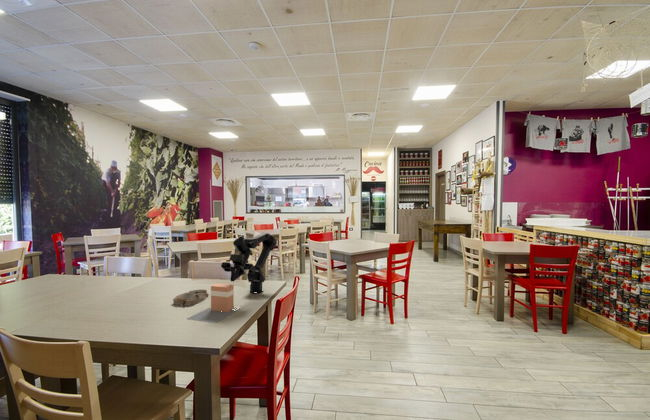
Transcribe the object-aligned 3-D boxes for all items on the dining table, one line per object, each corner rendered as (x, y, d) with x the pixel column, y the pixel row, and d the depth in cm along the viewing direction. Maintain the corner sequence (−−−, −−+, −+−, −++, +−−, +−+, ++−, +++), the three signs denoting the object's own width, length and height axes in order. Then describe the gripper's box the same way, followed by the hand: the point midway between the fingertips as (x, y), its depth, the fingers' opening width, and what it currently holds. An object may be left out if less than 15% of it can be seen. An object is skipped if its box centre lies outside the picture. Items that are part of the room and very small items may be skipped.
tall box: (217, 306, 147) (217, 283, 147) (233, 308, 145) (233, 284, 145) (210, 310, 142) (210, 286, 142) (227, 312, 140) (227, 287, 140)
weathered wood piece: (195, 294, 171) (169, 304, 152) (195, 286, 171) (169, 295, 152) (215, 297, 167) (191, 307, 148) (216, 288, 168) (191, 298, 148)
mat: (217, 304, 152) (217, 303, 152) (243, 307, 148) (243, 306, 148) (186, 319, 131) (186, 319, 131) (216, 323, 126) (216, 322, 126)
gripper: (222, 247, 159) (209, 271, 148) (252, 248, 154) (241, 273, 143) (231, 259, 167) (219, 283, 156) (260, 261, 161) (249, 285, 151)
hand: (231, 281), depth 151 cm, fingers closed
